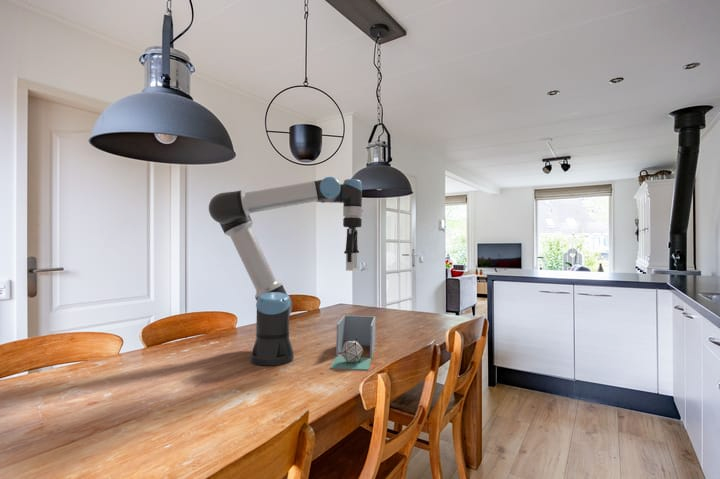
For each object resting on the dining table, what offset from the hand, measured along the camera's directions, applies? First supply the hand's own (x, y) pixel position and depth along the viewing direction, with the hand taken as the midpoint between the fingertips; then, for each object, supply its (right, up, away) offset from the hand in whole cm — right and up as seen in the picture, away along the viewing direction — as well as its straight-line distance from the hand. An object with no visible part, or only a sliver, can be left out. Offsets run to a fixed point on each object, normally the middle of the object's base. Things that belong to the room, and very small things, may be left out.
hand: (351, 269), depth 152 cm
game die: (0, -31, -22) cm, 38 cm away
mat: (0, -31, -22) cm, 38 cm away
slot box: (+2, -32, -6) cm, 32 cm away
